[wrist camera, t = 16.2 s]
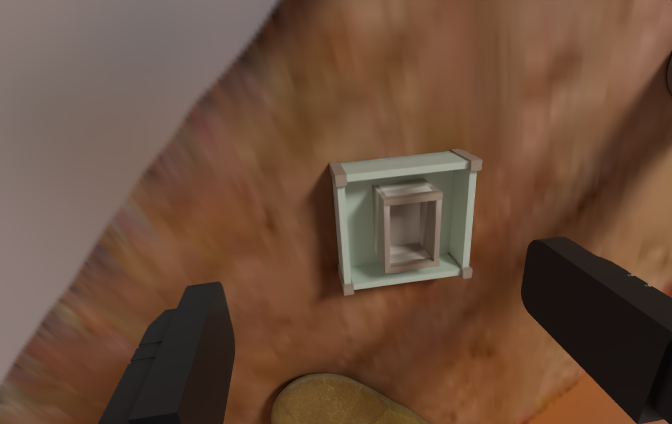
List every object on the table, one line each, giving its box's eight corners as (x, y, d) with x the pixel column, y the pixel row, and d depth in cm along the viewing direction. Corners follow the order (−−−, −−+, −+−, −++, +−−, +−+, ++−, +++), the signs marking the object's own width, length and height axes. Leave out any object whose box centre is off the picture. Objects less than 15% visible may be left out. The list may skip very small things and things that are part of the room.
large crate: (459, 148, 43) (482, 159, 38) (453, 256, 49) (471, 277, 44) (329, 162, 42) (335, 175, 37) (338, 271, 48) (344, 295, 43)
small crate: (424, 177, 43) (443, 193, 38) (422, 244, 47) (439, 266, 42) (371, 183, 43) (383, 200, 38) (374, 250, 46) (385, 273, 41)
